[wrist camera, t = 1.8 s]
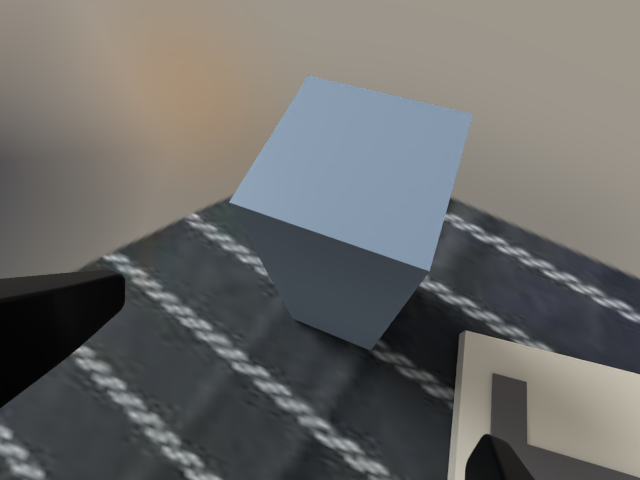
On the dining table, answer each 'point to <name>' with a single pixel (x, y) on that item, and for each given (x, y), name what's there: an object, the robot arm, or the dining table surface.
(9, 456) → the dining table surface
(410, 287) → the slate post
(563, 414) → the letter card
